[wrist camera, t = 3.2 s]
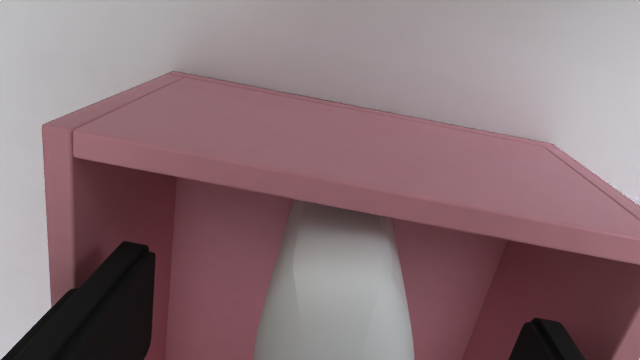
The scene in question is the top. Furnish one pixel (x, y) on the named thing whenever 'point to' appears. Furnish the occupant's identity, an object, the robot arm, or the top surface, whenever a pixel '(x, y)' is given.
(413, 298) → the pink open box
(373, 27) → the top surface
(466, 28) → the top surface
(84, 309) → the robot arm
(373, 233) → the eye dropper bottle
